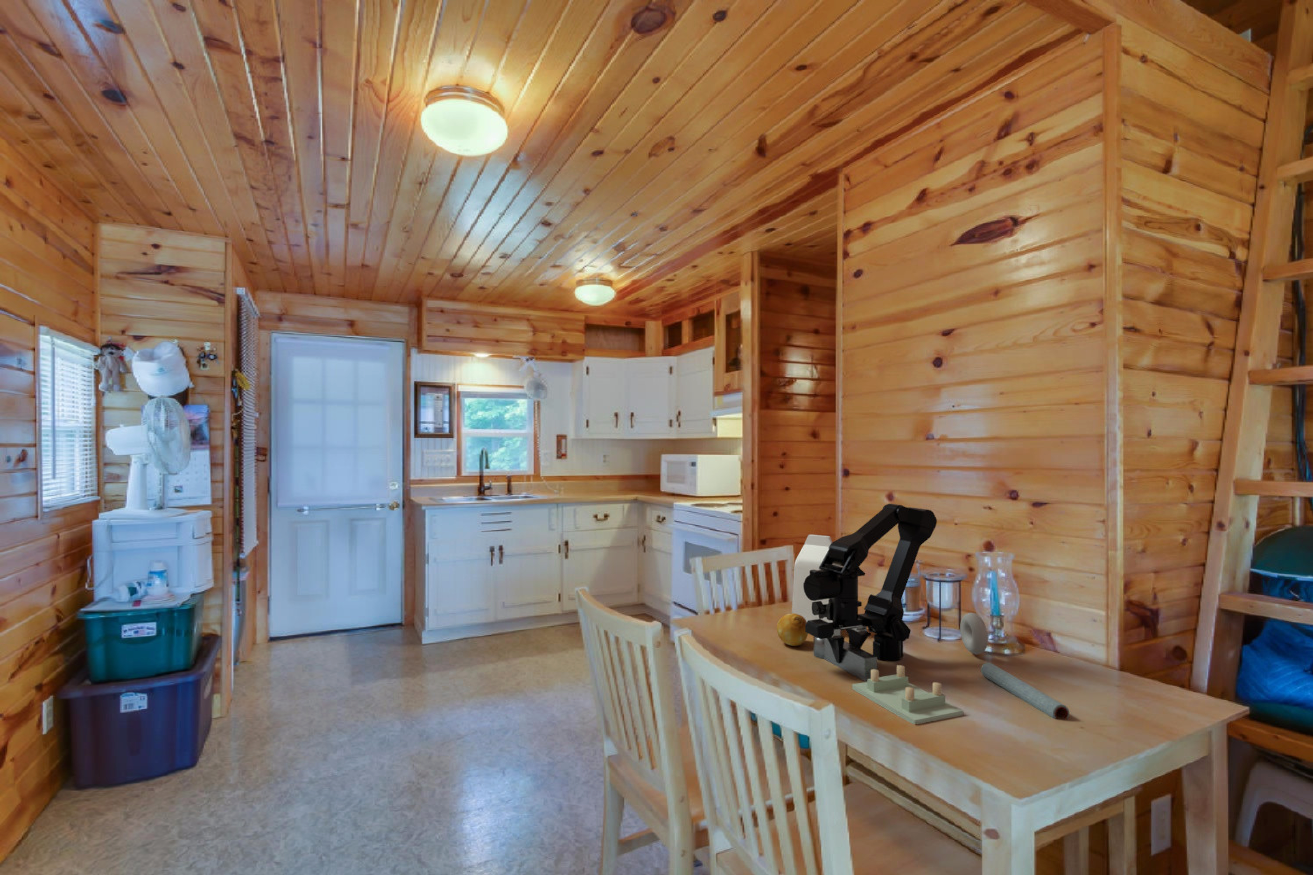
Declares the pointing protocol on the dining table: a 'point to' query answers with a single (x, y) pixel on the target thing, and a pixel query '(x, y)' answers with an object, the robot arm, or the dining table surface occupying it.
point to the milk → (804, 563)
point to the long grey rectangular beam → (847, 658)
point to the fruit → (792, 629)
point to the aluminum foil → (1024, 691)
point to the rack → (907, 698)
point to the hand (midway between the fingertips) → (845, 661)
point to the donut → (974, 633)
